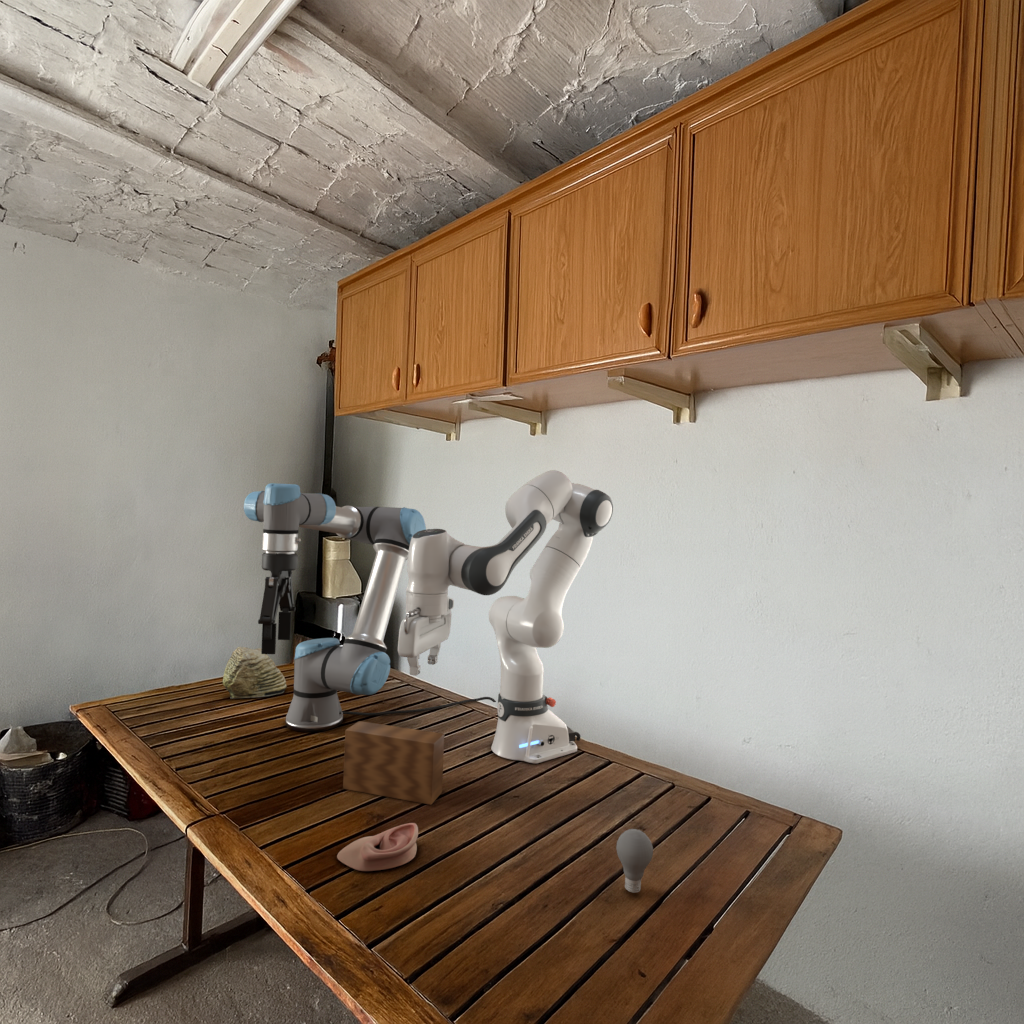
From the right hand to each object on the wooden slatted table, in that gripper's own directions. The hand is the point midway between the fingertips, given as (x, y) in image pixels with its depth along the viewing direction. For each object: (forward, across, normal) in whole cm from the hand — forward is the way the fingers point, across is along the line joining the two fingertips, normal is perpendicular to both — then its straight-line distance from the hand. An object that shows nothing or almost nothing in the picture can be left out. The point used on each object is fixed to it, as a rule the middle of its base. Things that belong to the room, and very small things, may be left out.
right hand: (423, 669), depth 136 cm
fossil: (+27, +44, +75) cm, 91 cm away
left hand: (-2, -3, +35) cm, 35 cm away
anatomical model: (+27, -23, -2) cm, 36 cm away
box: (+27, 0, +6) cm, 28 cm away
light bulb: (+27, -19, -47) cm, 58 cm away
